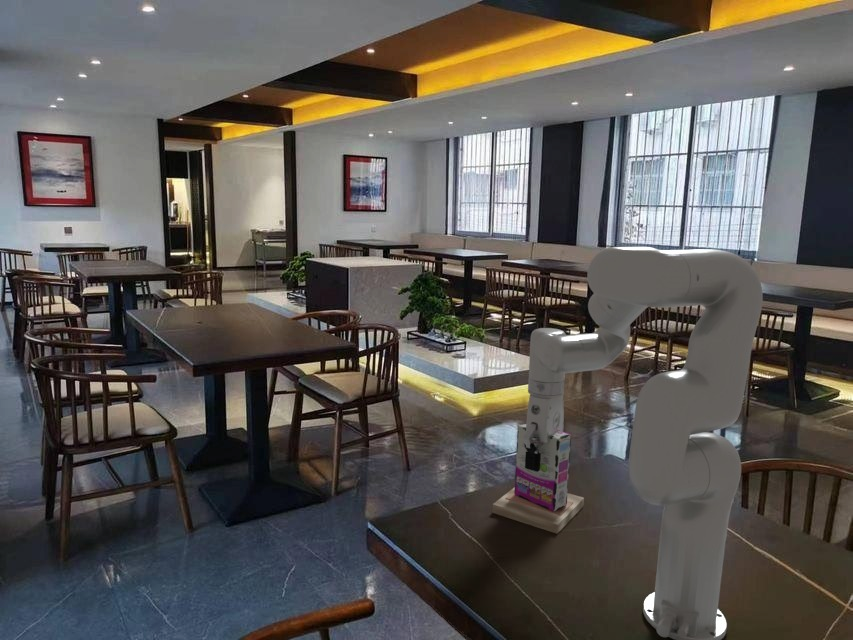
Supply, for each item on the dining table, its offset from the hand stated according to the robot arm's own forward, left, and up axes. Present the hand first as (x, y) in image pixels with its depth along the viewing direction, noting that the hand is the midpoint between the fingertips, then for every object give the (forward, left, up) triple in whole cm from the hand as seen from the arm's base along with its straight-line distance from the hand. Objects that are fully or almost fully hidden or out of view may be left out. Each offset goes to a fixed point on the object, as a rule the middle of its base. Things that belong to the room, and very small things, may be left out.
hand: (541, 462), depth 137 cm
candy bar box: (0, 0, -9) cm, 9 cm away
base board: (0, 0, -11) cm, 11 cm away
